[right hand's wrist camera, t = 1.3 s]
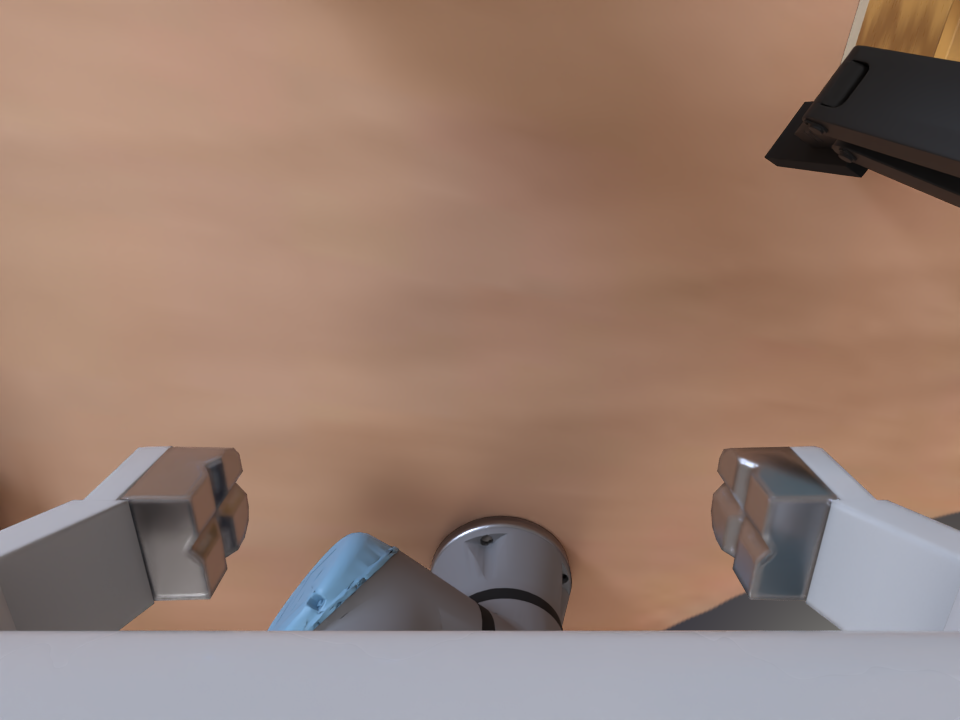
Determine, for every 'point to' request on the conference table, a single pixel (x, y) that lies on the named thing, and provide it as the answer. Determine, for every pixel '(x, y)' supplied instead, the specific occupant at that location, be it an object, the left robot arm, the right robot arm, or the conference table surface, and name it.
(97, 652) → the right robot arm
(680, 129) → the conference table surface
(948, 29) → the lid
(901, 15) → the chest
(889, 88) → the left robot arm
